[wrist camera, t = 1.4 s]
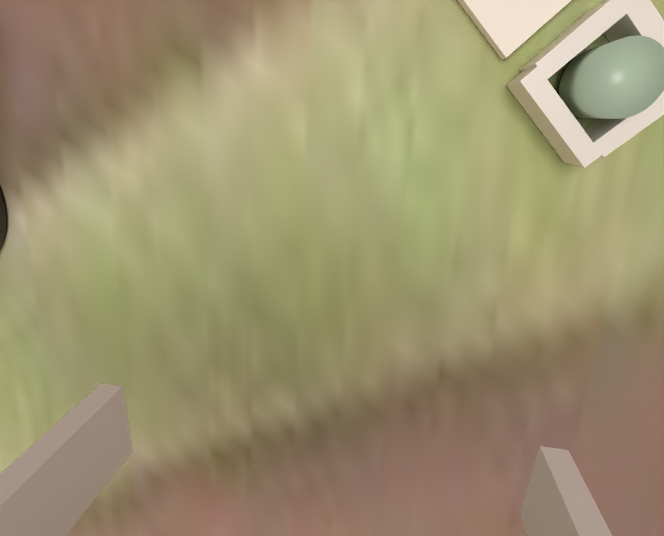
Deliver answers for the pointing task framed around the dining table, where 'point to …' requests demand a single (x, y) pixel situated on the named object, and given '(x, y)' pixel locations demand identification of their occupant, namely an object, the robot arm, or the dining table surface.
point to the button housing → (532, 85)
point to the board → (510, 20)
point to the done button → (614, 79)
